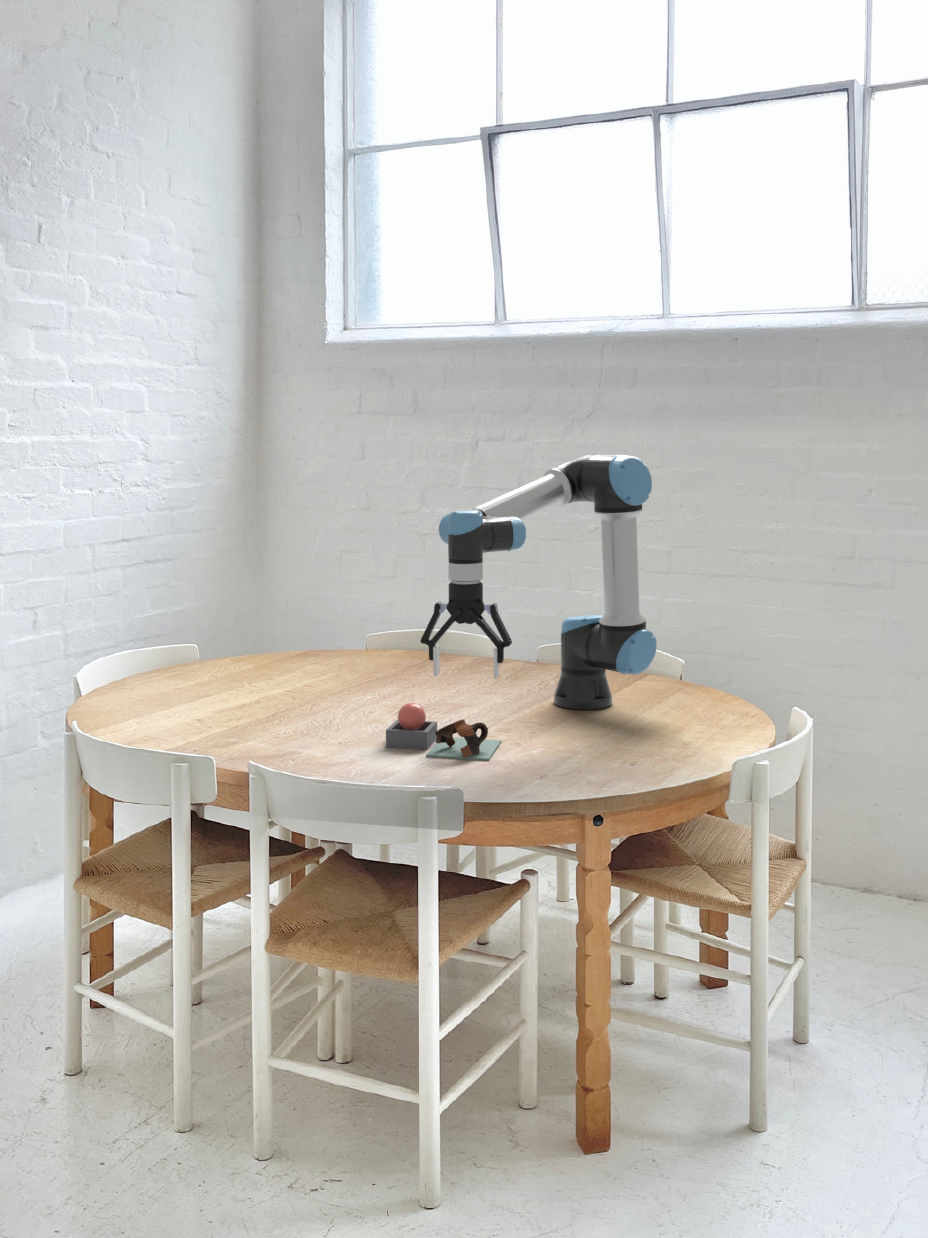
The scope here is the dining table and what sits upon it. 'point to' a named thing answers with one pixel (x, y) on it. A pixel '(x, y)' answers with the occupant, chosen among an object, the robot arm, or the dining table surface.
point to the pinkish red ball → (411, 716)
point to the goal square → (454, 751)
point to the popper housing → (411, 736)
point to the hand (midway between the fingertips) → (466, 676)
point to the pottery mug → (464, 731)
